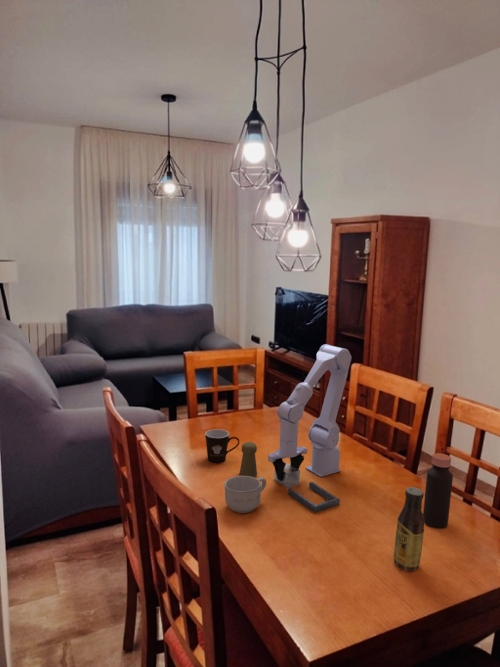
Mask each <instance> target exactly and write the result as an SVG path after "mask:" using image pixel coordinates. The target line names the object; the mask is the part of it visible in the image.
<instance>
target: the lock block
mask: <svg viewBox="0 0 500 667" xmlns="http://www.w3.org/2000/svg"><path fill="white" fill-rule="evenodd" d="M285 463H286V465H285V468H284V473H283V481H280V480H278V479H277V474H276V470H275V469H274V476H273V477H274V480H275V481H276V482H277V483H278V484H280V485H281V486H283V487H284V488H286V489H288V488H293V487H295V486H296V487H297V486H299V485H300V479H301V478H300V477H301V476H300V475H301V470H300V469H299V470H298V469H297V468H295V467H294V466H292V465H291V463H289V462H285Z"/></svg>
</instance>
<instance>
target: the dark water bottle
mask: <svg viewBox="0 0 500 667" xmlns="http://www.w3.org/2000/svg"><path fill="white" fill-rule="evenodd" d="M451 463H452V457H451V456H450V455H448V454H445V453H440V452H439V453H438V452H437V453H433V454H432V456H431V465H432V467H430V468H429V469H427V472H426V481H425V492H424V498H423V499H424V500H423V510H422V513H423V515H424V519H425V523H424V525H426V526H428V527H430V528H431V529H437V530H442V529H443V530H444V529H446V528H447V527H448V525H449V516H450V510H451V509H450V508H451V498H452V488H453V479H454V475H453V474H452V472H451V471H450V468H451Z"/></svg>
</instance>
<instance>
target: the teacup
mask: <svg viewBox="0 0 500 667" xmlns="http://www.w3.org/2000/svg"><path fill="white" fill-rule="evenodd" d="M223 485H224V498H225V504H226V506H228V508H229V509H230V510H231V511H233V512H235V513H238V514H246V513H250V512H253V511H254V510H255V509H256V508H258V507H259V505H260V502H261V499H262V498H261V497H262V496H261V494H262V492H263V491H264V489H265V488H266V487H267V486H266V485H267V480H266V478H264V477H262V476H259V477H258V478H256V477H250V476H240V475H237V476H232V477H229V478H228V479H226V480H225V481H224V483H223Z"/></svg>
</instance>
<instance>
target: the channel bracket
mask: <svg viewBox="0 0 500 667" xmlns="http://www.w3.org/2000/svg"><path fill="white" fill-rule="evenodd" d="M308 489H309V490H312V491H313V492H315V493H316V494H317V495H319V496H320V497H322V498H324V499H325V500H326V501H323V502H320V503H316V504H315V503H314V502H313V501H311V500H309V499H308V498H306V497H305V496H304V495H303V494H301V493H299V492H297V491H296V490H295V489H293V487H290V488H287V495H288V496H289V497H291V498H292V499H293V500H295V501H297V502H298V503H299V504H301V505H302V506H304V507H305V508H306V509H308V510H309V511H310V512H312V513H313V514H318V513H320V512H324V511H326V510H328V509H332V508H335V507H337V506H340V500H341V499H340V498H338V497H337V496H336V495H334V494H332V493H331V492H329V491H327V490H326V489H325V488H322V487H321V486H320V485H318V484H317V483H315V482H313V481H309V485H308Z"/></svg>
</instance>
